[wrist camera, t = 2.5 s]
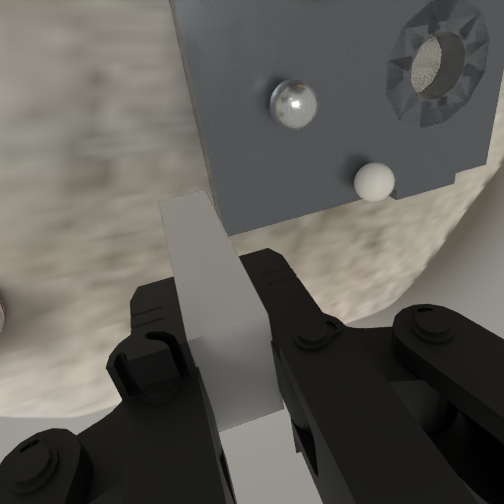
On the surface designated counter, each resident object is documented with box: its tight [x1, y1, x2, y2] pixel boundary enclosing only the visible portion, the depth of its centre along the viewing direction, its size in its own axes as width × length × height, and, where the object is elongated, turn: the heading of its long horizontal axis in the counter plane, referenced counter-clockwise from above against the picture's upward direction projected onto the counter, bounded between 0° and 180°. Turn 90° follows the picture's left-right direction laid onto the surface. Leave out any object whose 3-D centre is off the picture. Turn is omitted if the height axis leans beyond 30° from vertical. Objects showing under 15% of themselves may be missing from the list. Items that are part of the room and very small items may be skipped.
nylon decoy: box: [354, 162, 395, 202], centre depth 30 cm, size 3×3×3 cm
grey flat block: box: [169, 0, 504, 236], centre depth 28 cm, size 24×20×2 cm
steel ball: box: [270, 78, 319, 131], centre depth 25 cm, size 3×3×3 cm
